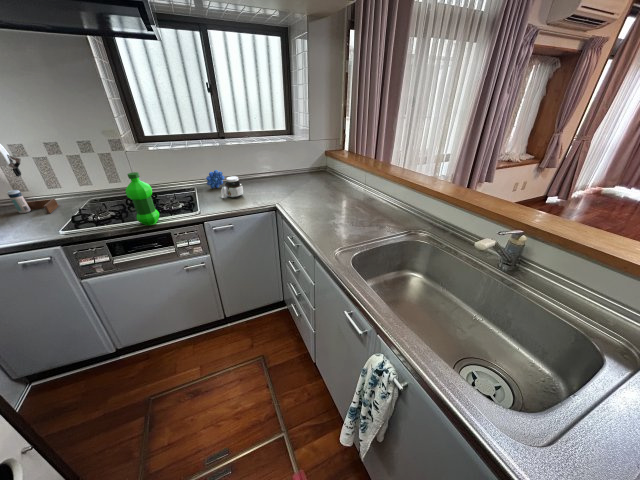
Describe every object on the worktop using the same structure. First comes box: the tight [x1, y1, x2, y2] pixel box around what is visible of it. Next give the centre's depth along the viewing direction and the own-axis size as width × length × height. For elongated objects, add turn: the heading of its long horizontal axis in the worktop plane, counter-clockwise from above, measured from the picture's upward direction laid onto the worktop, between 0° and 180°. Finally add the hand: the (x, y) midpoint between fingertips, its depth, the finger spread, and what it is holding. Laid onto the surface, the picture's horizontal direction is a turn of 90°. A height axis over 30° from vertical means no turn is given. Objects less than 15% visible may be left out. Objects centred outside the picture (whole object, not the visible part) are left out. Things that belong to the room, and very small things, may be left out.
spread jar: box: [220, 175, 244, 199], centre depth 161 cm, size 12×11×12 cm
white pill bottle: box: [7, 189, 32, 214], centre depth 141 cm, size 5×5×12 cm
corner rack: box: [26, 198, 59, 215], centre depth 143 cm, size 15×12×4 cm
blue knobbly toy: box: [205, 169, 225, 189], centre depth 176 cm, size 12×7×12 cm, turn 116°
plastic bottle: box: [125, 171, 160, 226], centre depth 126 cm, size 10×10×25 cm
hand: (6, 176), depth 134 cm, fingers open, 9 cm apart
